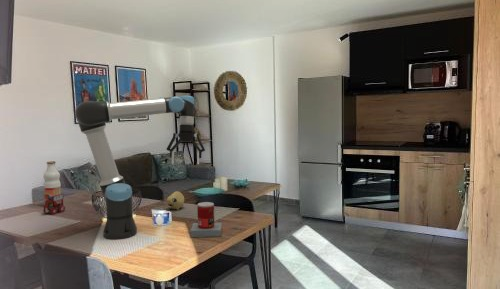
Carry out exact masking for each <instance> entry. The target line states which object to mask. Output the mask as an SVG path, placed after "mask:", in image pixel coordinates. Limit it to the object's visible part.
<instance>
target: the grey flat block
mask: <svg viewBox="0 0 500 289" xmlns="http://www.w3.org/2000/svg"><path fill="white" fill-rule="evenodd" d="M222 228H223V226H222V222H214V227H212V228H208V229H202V228H199V227H198V222H193V223H192V226H191V228H190V238H207V237H209V238H210V237H211V238H212V237H214V238H215V237H216V238H217V237H222Z"/></svg>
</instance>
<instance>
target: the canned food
mask: <svg viewBox="0 0 500 289" xmlns="http://www.w3.org/2000/svg"><path fill="white" fill-rule="evenodd" d="M196 206H197V210H196V211H197V223H198V227H199V228H202V229H208V228H212V227H214V223H215V204H214V202H212V201H211V202H210V201H203V202H199V203H197V205H196Z"/></svg>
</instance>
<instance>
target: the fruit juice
mask: <svg viewBox="0 0 500 289" xmlns="http://www.w3.org/2000/svg"><path fill="white" fill-rule="evenodd" d="M56 163H57V162H56V161H47V162H46V166H47V167H46V170H45V172H44V173H43V180H44V182H43V196H44V198H43V199H44V203H45V202H46V200H48V197H49V196H51V197H52V196H55V195H59V194H62V185H61V181H60V178H61V174H60V172H59V171H58V170H57V167H56Z"/></svg>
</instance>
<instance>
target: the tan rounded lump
mask: <svg viewBox="0 0 500 289" xmlns="http://www.w3.org/2000/svg"><path fill="white" fill-rule="evenodd" d="M164 202H165V204H166V205H167V206H168V207H169V209H170V210H172V209H173V210H177V211H178V210H180V208H181V207H184V204H185V196H184V195H183V193H181V191H179V190H178V191H177V190H176V191H174V192H172V193H171V194H170V195H169V196H167V197H165V199H164Z"/></svg>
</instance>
